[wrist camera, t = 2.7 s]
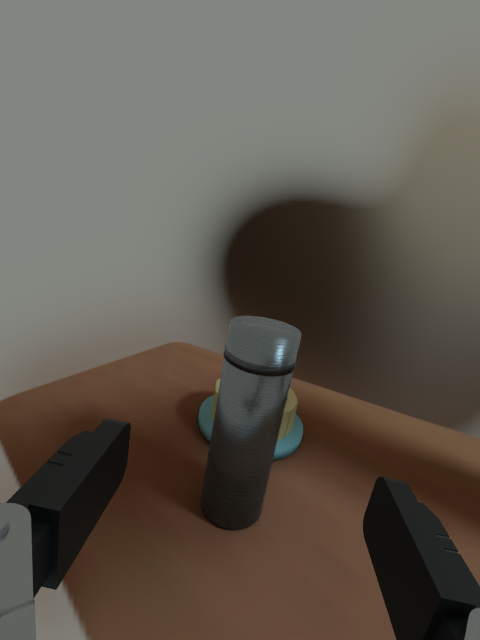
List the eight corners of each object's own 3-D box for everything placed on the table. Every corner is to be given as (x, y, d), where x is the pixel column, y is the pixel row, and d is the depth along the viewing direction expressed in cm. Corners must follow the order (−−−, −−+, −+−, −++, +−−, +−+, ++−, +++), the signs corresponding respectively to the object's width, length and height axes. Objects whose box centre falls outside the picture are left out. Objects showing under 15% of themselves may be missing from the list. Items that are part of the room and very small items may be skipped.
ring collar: (261, 392, 42) (267, 364, 41) (323, 445, 34) (332, 411, 32) (181, 405, 36) (186, 372, 35) (231, 474, 28) (239, 433, 26)
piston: (241, 472, 28) (272, 315, 24) (274, 516, 24) (317, 338, 20) (190, 488, 25) (216, 315, 22) (218, 540, 22) (256, 342, 18)
